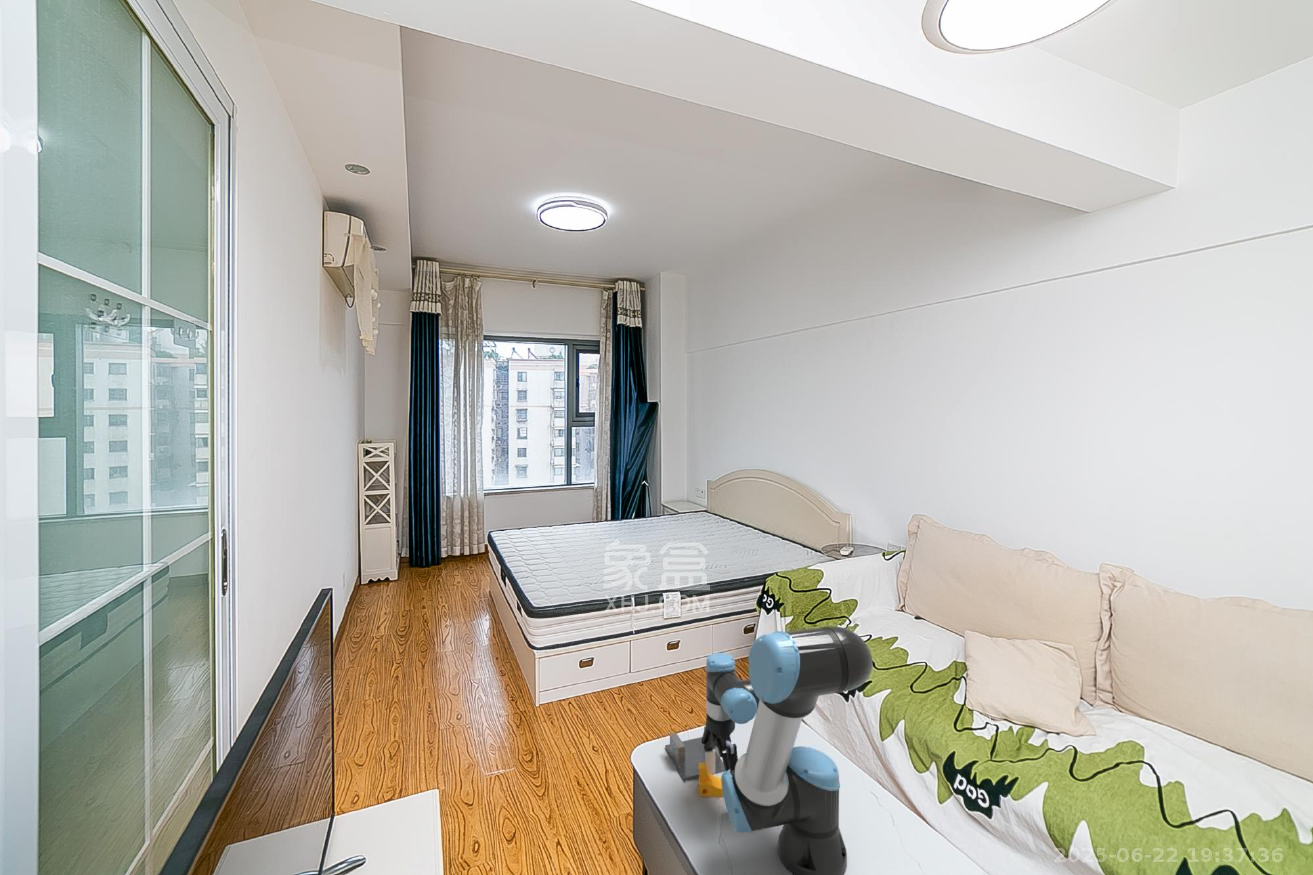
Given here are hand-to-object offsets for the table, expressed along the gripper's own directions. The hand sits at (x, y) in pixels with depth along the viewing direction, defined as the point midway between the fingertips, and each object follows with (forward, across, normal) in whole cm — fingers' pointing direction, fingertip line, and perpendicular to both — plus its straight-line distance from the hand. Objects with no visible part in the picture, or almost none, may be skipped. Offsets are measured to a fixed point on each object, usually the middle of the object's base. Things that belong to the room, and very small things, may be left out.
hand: (720, 790), depth 146 cm
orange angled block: (+1, +1, 0) cm, 2 cm away
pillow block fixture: (+1, +15, +1) cm, 15 cm away
